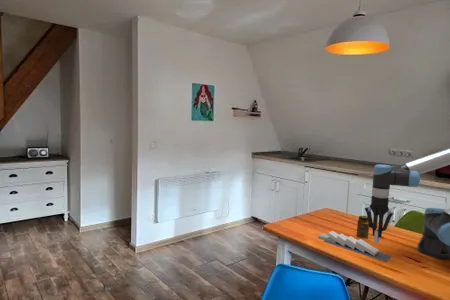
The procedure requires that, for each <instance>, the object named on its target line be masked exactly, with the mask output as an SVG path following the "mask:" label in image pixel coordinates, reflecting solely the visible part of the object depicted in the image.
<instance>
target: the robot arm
mask: <svg viewBox="0 0 450 300" xmlns="http://www.w3.org/2000/svg"><path fill="white" fill-rule="evenodd" d="M449 165H450V147H449V148H445V149H443V150H439V151H437V152H434V153H432V154H429V155H426V156H422V157H419V158H417V159H414V160H411V161H408V162H405V163H401V164H399V165H389V164H379V163H378V164H376V165H374V168H373V173H372V176H373V177H372V190H371V197H370V198H371V200H370V205H369V206H367V207H365V208H364V211H365V212H366V216H367V218H368V224H369V229H372V236H373V244H375V245H377V244H379V243H380V238H382V234H383V232H385V231H387V229H388V226H389V224H390V221H391V218H392V217H393V215H395V213H394V212H392V211H391V210H390V208H389V202H390V201H389V196H390V187H391V186H399V187H409V188H411V187H413V188H417V187H418V186H419V185H420V182H421V177H420V175H423V174H425V173H428V172H432V171H434V170H438V169H441V168H443V167H446V166H449ZM372 215H373V216H372ZM385 215H387V216H386V218H385V221H384V217H385ZM423 216H424V217H423V227H422V235H421V238H420V239H419V241H418V244H417V246H416V247H417V248H416V249H417V251H418V252H419V253H421V254H423V255H425V256H427V257H428V256H429V257H432V258H436V259H441V260H449V259H450V208H448V209H447V208H446V209H444V208H437V207H427V208H426V209H425V210H424V215H423Z"/></svg>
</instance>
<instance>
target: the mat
mask: <svg viewBox="0 0 450 300" xmlns="http://www.w3.org/2000/svg"><path fill="white" fill-rule="evenodd" d="M322 242H323V243H327V244H329V245H332V246H336V247H339V248H341V249H345V250H348V251H350V252H353V253H357V254H360V255H363V256H366V257H368V258H371V259H375V260H378V261H381V262H385V263H387V262H388V261H389V260H391V258H392V257H393V255H391V254H388V253H385V252H382V251H378V253H377V254H376V255H375V256H373V255H371V254H370V253H368V252H367V251H365V252H364V253H363V252H362V251H360V250H359V249H357V248H355V249H352V248H351V247H349V246H348V245H345V246H343V245H341V244H340V243H338V242H337V243H332V242H329V241H326V240H323V241H322Z"/></svg>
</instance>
